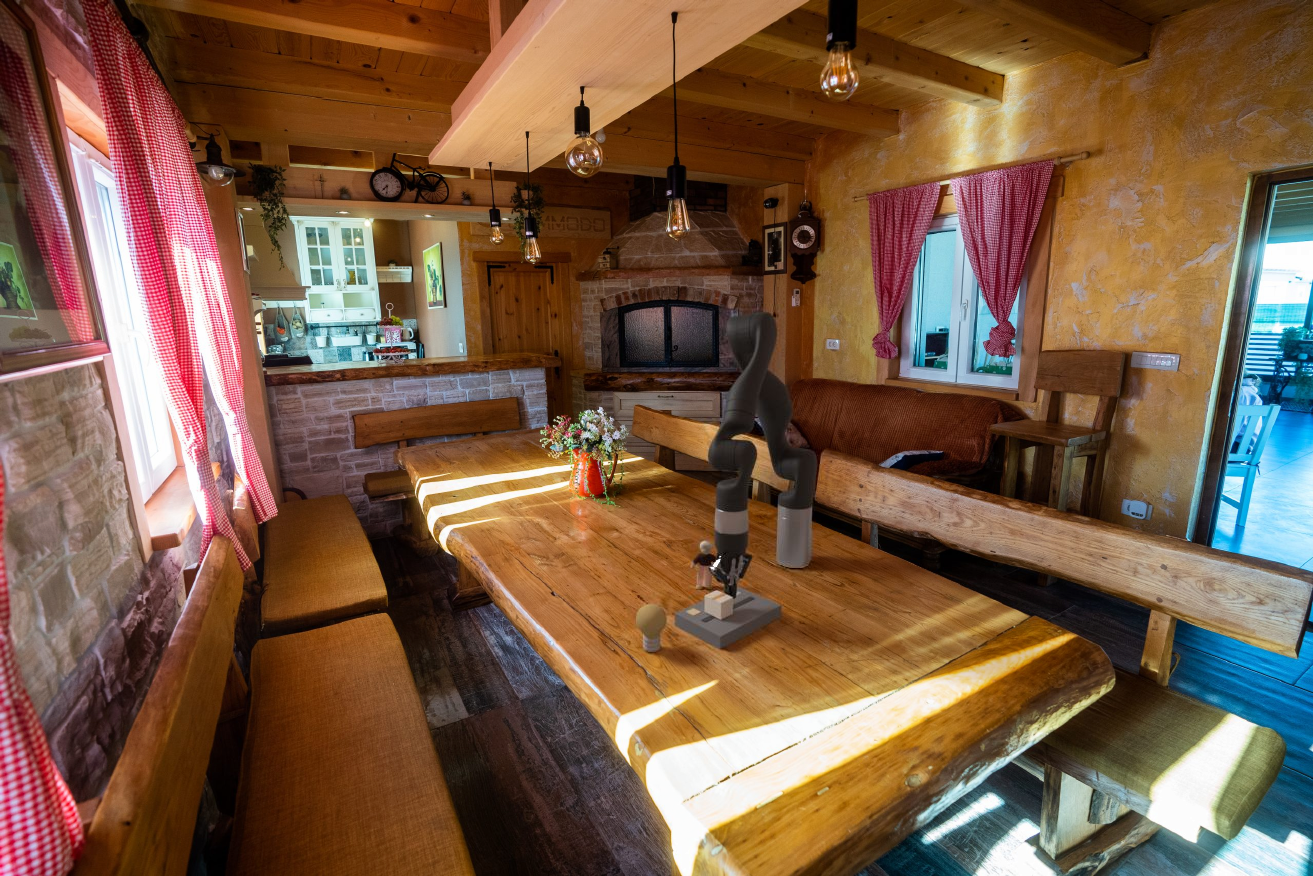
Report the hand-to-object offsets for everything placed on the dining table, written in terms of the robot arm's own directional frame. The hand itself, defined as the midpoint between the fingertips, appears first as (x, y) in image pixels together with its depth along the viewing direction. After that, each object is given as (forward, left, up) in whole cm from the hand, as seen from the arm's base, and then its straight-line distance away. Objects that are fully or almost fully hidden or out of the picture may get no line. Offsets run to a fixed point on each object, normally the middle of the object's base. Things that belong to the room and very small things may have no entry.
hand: (730, 598), depth 144 cm
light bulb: (+21, -3, -6) cm, 22 cm away
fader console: (0, 0, -6) cm, 6 cm away
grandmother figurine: (-9, -16, -6) cm, 19 cm away
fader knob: (+4, 0, -2) cm, 4 cm away
